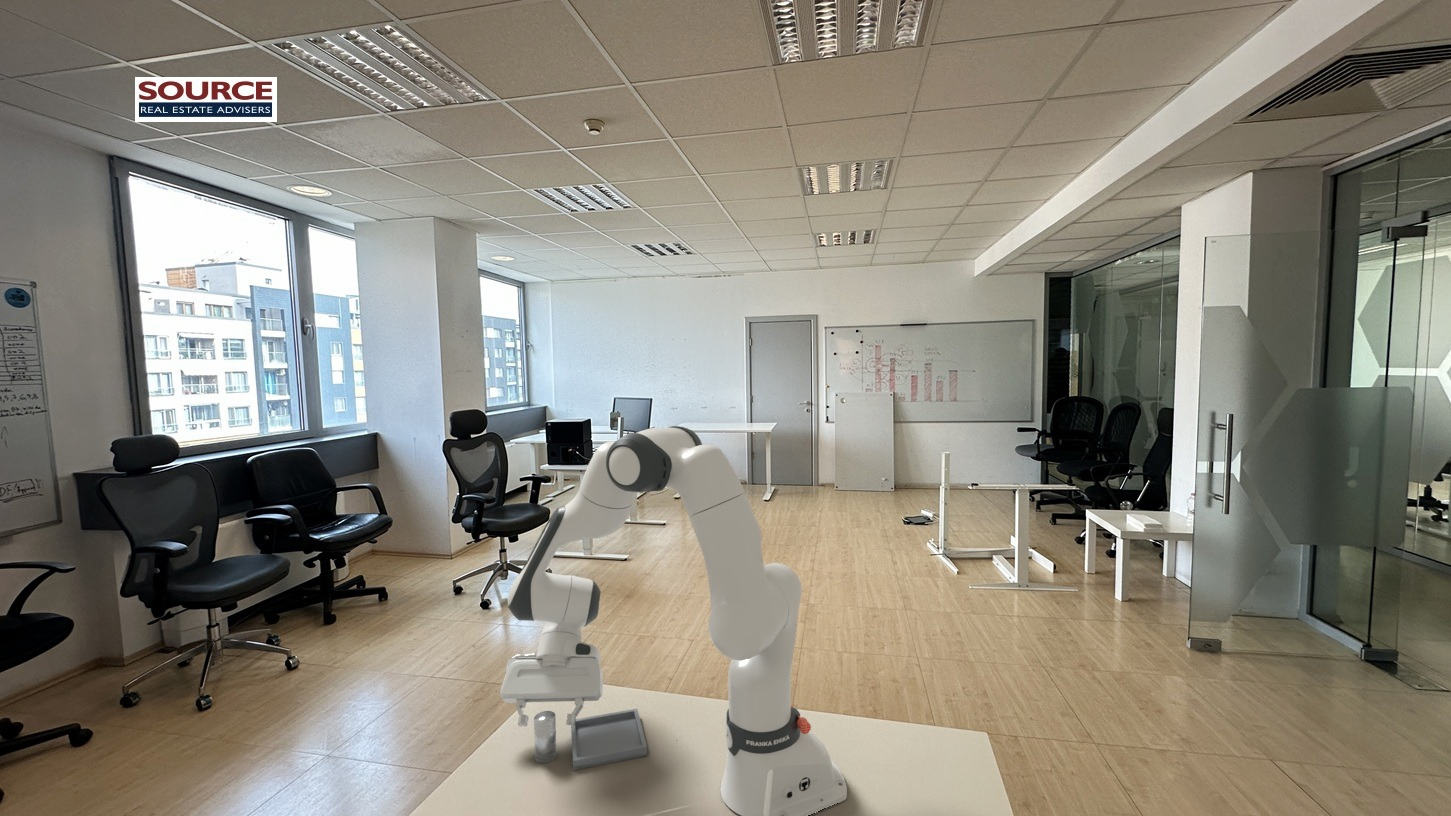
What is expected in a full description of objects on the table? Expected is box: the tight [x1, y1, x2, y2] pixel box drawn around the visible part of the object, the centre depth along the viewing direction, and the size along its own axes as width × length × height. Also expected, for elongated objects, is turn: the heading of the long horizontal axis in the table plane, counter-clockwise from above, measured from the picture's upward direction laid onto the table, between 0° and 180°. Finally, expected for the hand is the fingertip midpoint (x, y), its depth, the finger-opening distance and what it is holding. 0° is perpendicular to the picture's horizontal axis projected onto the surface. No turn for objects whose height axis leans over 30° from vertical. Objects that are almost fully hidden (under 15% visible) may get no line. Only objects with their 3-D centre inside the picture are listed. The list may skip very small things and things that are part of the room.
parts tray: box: [570, 708, 648, 771], centre depth 117 cm, size 14×14×2 cm
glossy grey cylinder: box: [533, 710, 557, 764], centre depth 112 cm, size 4×4×8 cm
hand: (546, 725), depth 113 cm, fingers open, 8 cm apart
